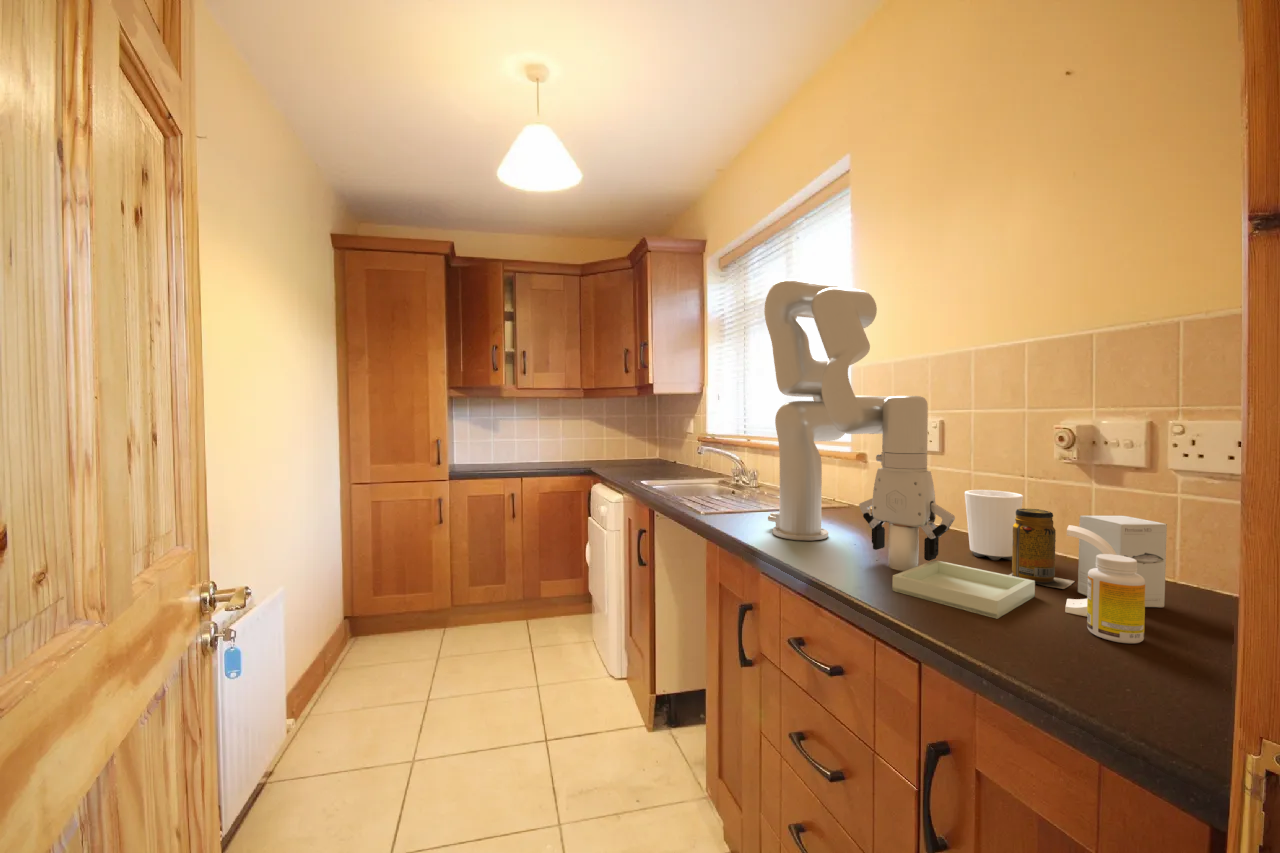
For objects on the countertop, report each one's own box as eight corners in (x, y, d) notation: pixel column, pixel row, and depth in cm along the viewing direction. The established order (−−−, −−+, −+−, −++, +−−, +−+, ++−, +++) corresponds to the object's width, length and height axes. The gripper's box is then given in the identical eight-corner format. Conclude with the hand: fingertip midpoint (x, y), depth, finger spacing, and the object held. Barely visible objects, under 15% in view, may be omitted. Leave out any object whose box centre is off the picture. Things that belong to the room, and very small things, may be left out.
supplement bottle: (1156, 645, 67) (1158, 563, 66) (1111, 645, 67) (1113, 563, 66) (1117, 627, 72) (1119, 552, 72) (1075, 627, 72) (1077, 552, 72)
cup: (953, 550, 113) (953, 490, 112) (997, 549, 113) (998, 489, 113) (986, 563, 103) (987, 497, 103) (1035, 562, 103) (1036, 496, 103)
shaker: (883, 566, 101) (883, 518, 101) (896, 562, 104) (897, 514, 104) (910, 573, 97) (910, 522, 97) (923, 568, 100) (923, 519, 100)
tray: (892, 590, 87) (892, 575, 87) (935, 573, 96) (935, 560, 96) (997, 618, 75) (997, 601, 75) (1034, 596, 84) (1034, 580, 84)
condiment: (1016, 570, 98) (1017, 505, 98) (1075, 582, 92) (1076, 512, 91) (1003, 578, 94) (1004, 510, 93) (1063, 591, 87) (1064, 517, 87)
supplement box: (1118, 609, 79) (1120, 523, 79) (1076, 592, 86) (1077, 514, 86) (1167, 608, 79) (1169, 523, 79) (1120, 592, 87) (1122, 513, 86)
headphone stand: (1067, 603, 81) (1068, 524, 81) (1120, 613, 77) (1122, 530, 77) (1065, 612, 78) (1066, 529, 77) (1120, 623, 74) (1122, 536, 73)
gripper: (850, 460, 104) (849, 547, 105) (944, 467, 91) (943, 567, 91) (871, 458, 109) (870, 542, 109) (963, 464, 95) (962, 560, 96)
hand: (903, 553), depth 100 cm, fingers open, 9 cm apart
